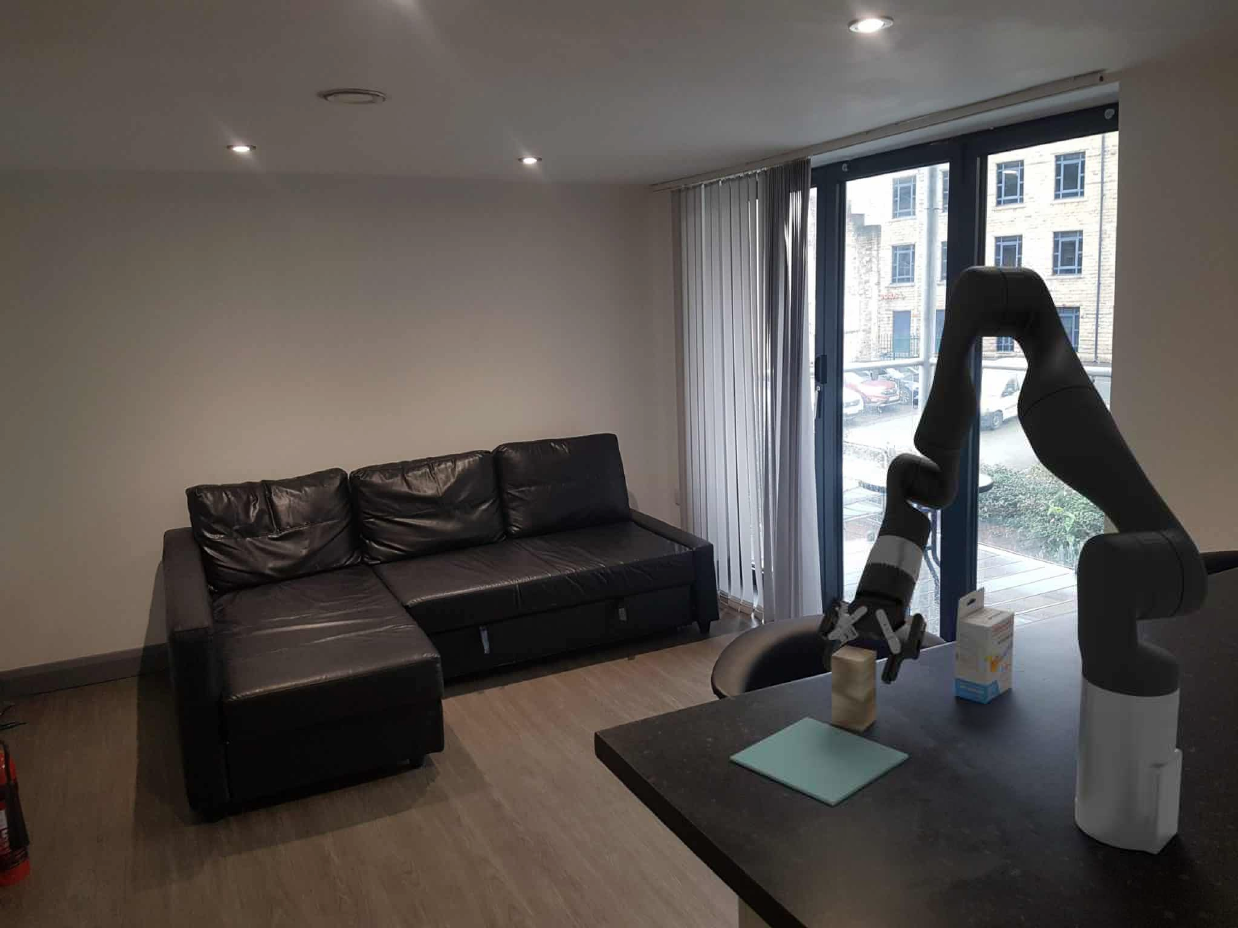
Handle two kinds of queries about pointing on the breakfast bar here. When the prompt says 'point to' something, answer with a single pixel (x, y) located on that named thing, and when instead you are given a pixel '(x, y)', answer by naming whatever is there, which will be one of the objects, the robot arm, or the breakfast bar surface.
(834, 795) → the mat
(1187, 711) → the breakfast bar surface
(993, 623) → the ink box
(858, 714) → the block
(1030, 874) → the breakfast bar surface
